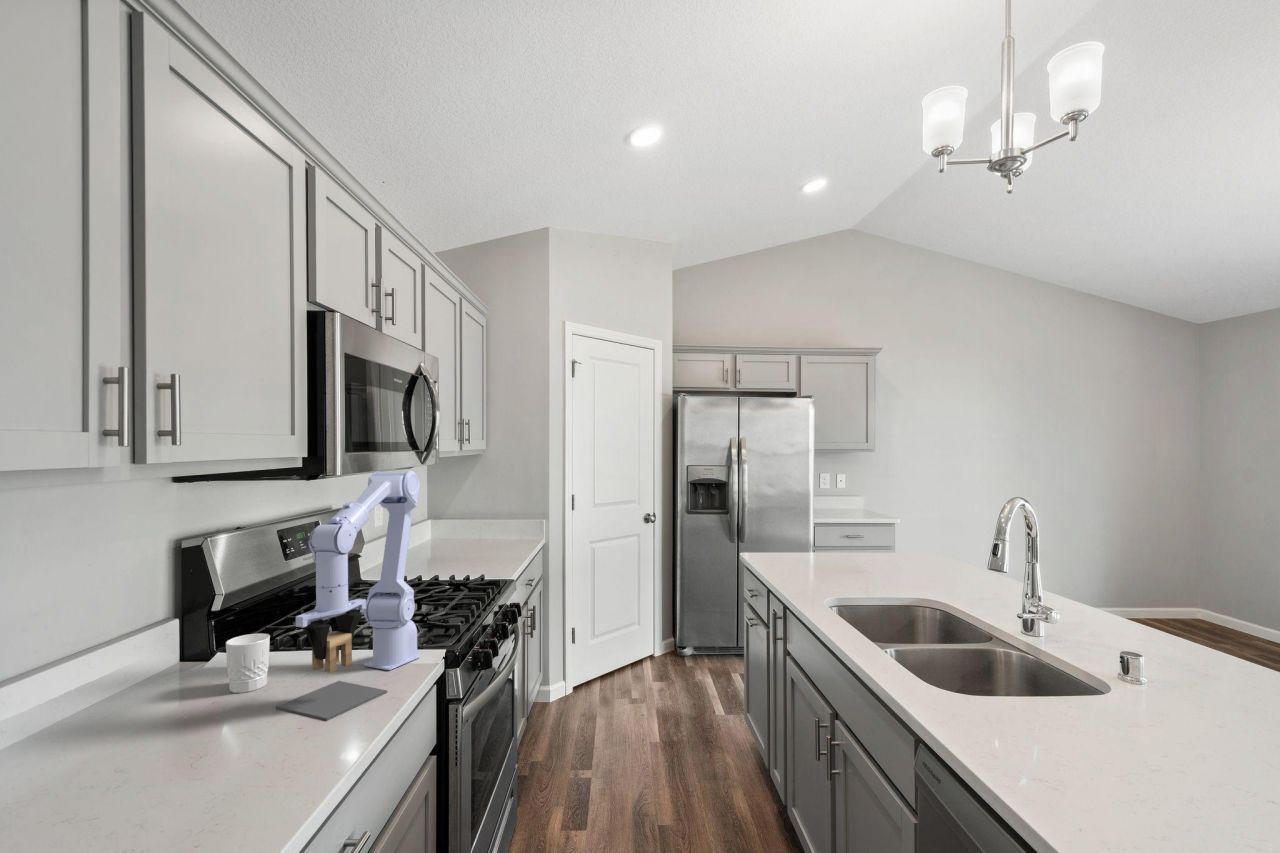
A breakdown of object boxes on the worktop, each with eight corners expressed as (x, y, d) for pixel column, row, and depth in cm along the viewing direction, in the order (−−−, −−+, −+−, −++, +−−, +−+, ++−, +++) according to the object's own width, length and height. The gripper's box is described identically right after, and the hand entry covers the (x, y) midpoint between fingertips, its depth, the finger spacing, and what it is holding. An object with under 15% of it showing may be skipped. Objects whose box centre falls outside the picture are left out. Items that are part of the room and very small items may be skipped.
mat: (338, 682, 134) (338, 680, 134) (387, 692, 128) (387, 690, 128) (276, 708, 121) (276, 706, 121) (326, 720, 115) (326, 718, 115)
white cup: (278, 680, 136) (278, 633, 136) (252, 694, 128) (252, 645, 129) (244, 679, 137) (244, 633, 137) (216, 694, 129) (216, 644, 129)
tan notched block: (351, 663, 126) (351, 633, 126) (330, 672, 122) (329, 641, 122) (334, 660, 128) (333, 631, 128) (312, 669, 124) (311, 638, 124)
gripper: (348, 576, 133) (349, 641, 133) (284, 591, 120) (285, 663, 120) (372, 578, 131) (373, 644, 130) (309, 594, 117) (310, 668, 117)
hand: (332, 654), depth 125 cm, fingers closed on tan notched block, 5 cm apart
